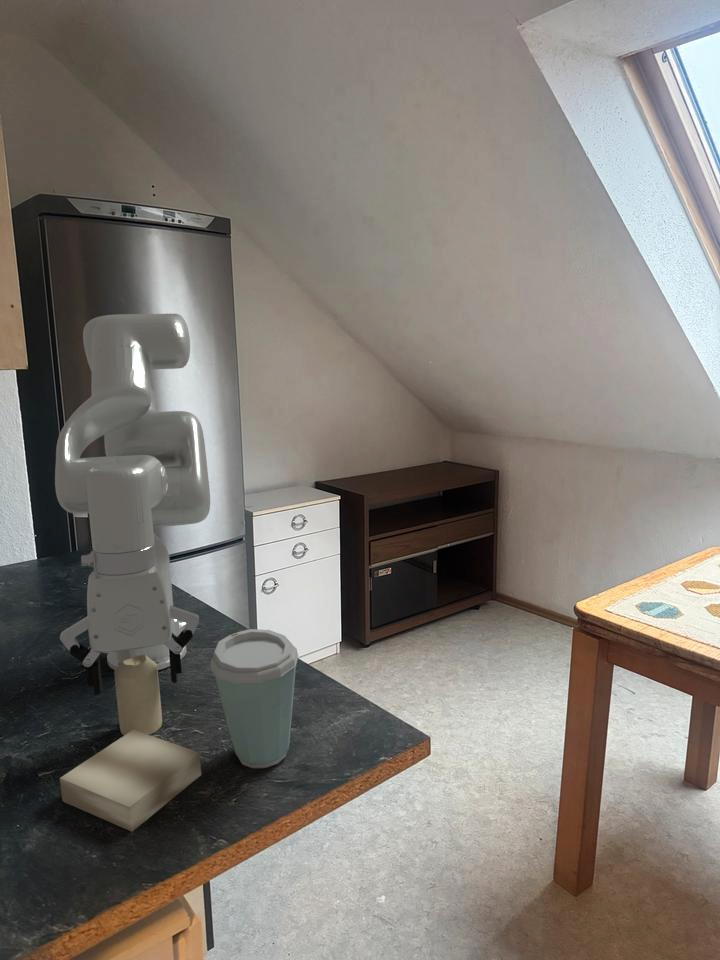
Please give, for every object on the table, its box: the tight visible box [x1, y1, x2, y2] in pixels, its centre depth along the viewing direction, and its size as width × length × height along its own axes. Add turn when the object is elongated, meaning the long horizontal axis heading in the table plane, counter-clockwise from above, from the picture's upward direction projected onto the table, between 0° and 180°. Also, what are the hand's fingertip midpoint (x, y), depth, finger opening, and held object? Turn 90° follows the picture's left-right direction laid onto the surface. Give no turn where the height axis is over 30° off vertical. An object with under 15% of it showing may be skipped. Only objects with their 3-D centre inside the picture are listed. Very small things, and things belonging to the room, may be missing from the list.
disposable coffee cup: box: [209, 628, 299, 769], centre depth 86 cm, size 11×11×15 cm
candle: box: [113, 655, 163, 736], centre depth 93 cm, size 6×6×10 cm
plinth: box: [59, 730, 202, 833], centre depth 81 cm, size 11×11×3 cm
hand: (136, 684), depth 92 cm, fingers open, 9 cm apart
